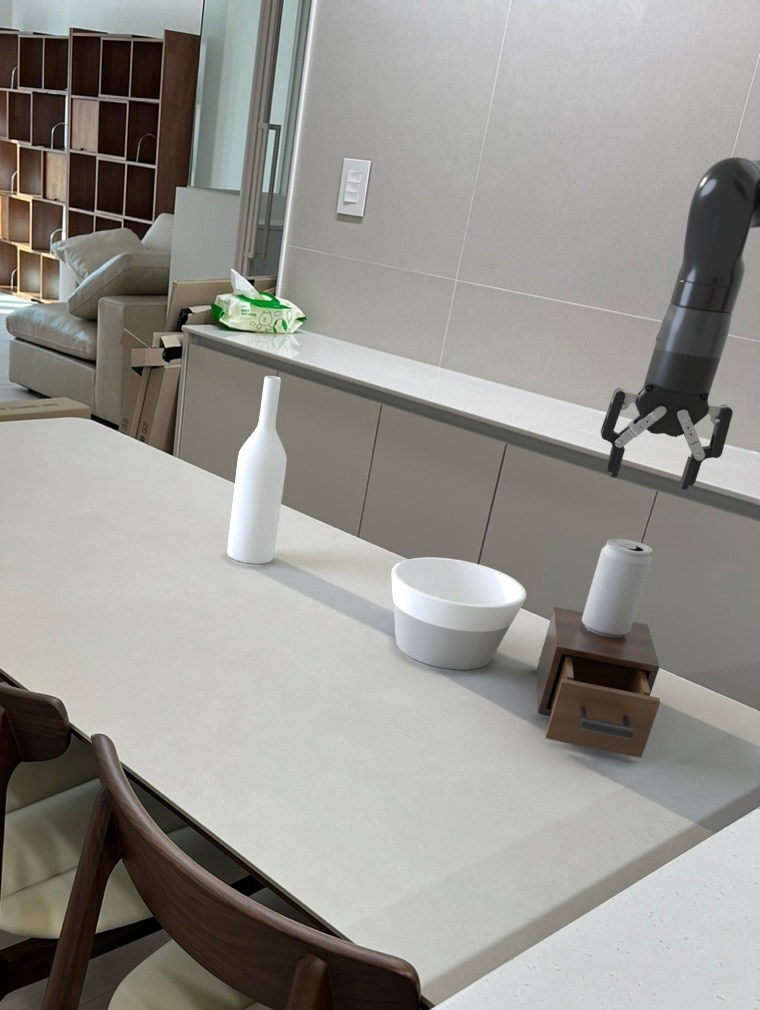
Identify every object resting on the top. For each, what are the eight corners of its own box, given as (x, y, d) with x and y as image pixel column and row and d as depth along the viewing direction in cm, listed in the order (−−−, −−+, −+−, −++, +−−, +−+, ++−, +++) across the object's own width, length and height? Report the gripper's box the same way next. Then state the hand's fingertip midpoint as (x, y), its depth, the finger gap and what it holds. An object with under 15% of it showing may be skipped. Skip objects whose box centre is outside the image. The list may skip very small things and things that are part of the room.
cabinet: (637, 733, 138) (660, 666, 134) (537, 713, 140) (556, 646, 136) (627, 687, 151) (648, 624, 146) (536, 669, 153) (554, 606, 149)
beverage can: (613, 643, 139) (640, 556, 133) (570, 625, 143) (595, 540, 137) (637, 633, 143) (664, 549, 137) (595, 616, 147) (619, 533, 141)
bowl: (474, 691, 144) (492, 619, 139) (354, 645, 154) (367, 575, 149) (529, 652, 158) (547, 585, 153) (416, 612, 168) (429, 547, 163)
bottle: (247, 567, 178) (270, 384, 164) (217, 551, 183) (237, 372, 169) (282, 560, 183) (308, 382, 168) (252, 545, 188) (274, 371, 174)
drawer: (644, 777, 126) (665, 719, 122) (546, 756, 128) (562, 698, 124) (631, 711, 142) (649, 657, 138) (543, 693, 144) (558, 640, 140)
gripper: (629, 343, 124) (591, 479, 131) (757, 361, 121) (711, 499, 129) (624, 335, 130) (588, 465, 138) (745, 352, 128) (702, 484, 135)
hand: (648, 482), depth 133 cm, fingers open, 8 cm apart
